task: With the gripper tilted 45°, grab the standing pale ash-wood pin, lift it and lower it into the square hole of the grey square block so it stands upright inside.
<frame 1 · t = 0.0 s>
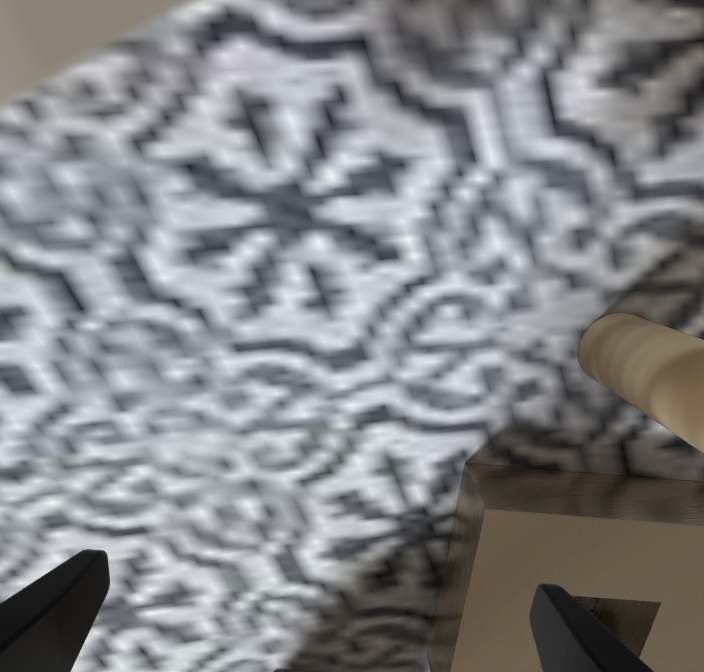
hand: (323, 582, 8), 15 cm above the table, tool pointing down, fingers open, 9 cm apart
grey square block: (563, 576, 27), on the table
ash pin: (614, 348, 22), on the table
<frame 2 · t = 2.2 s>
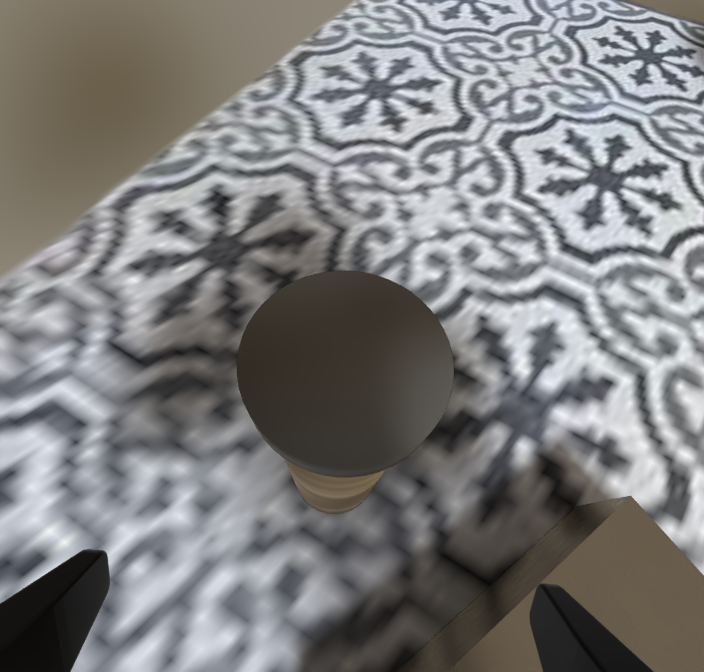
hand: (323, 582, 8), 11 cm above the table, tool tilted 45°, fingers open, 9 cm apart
ash pin: (334, 469, 20), on the table
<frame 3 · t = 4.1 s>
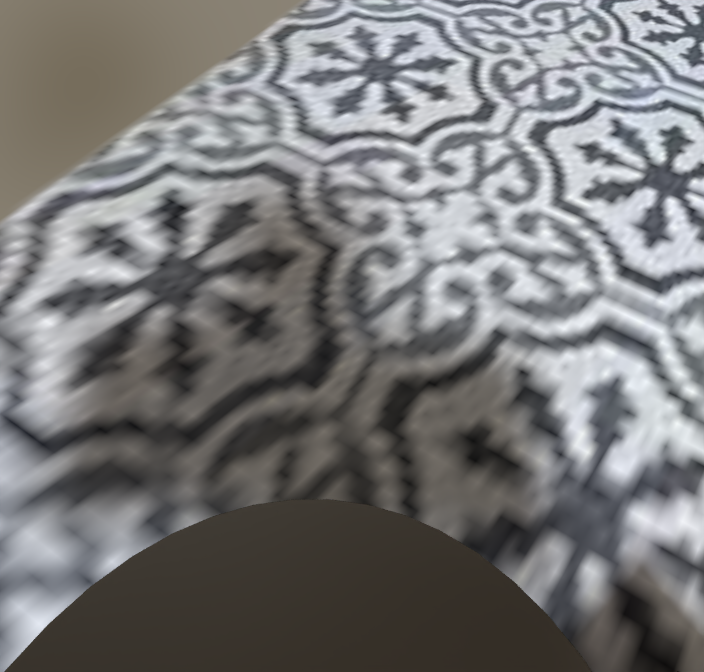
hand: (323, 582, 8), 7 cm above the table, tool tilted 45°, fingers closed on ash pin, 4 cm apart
ash pin: (319, 617, 14), on the table, touching gripper
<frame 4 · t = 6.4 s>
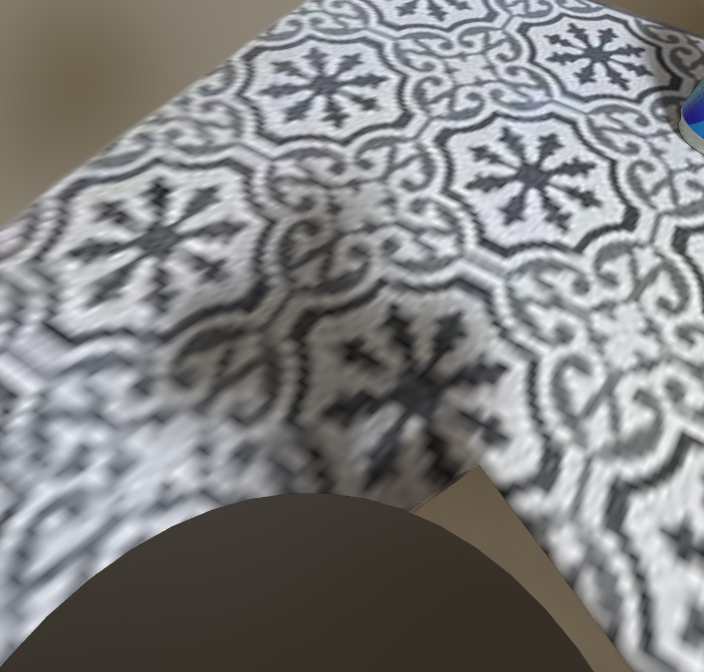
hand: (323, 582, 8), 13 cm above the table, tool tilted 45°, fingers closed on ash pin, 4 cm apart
ash pin: (319, 616, 14), point 6 cm above the table, touching gripper
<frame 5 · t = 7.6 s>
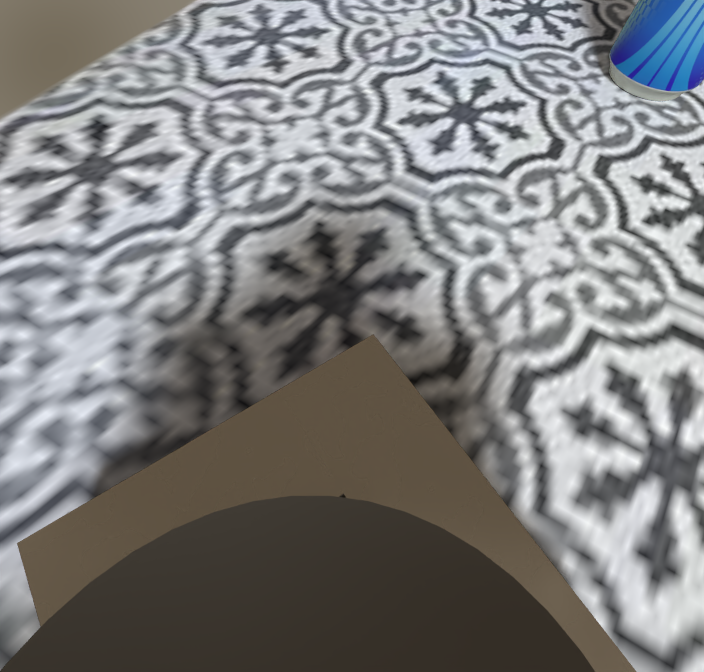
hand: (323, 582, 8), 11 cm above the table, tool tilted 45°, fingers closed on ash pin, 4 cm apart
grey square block: (322, 598, 18), on the table
ash pin: (319, 617, 13), point 5 cm above the table, touching gripper
beer can: (643, 81, 39), on the table
when the fingers open (8 cm above the table, at t = 8.6 s): ash pin drops 1 cm, resting in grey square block.
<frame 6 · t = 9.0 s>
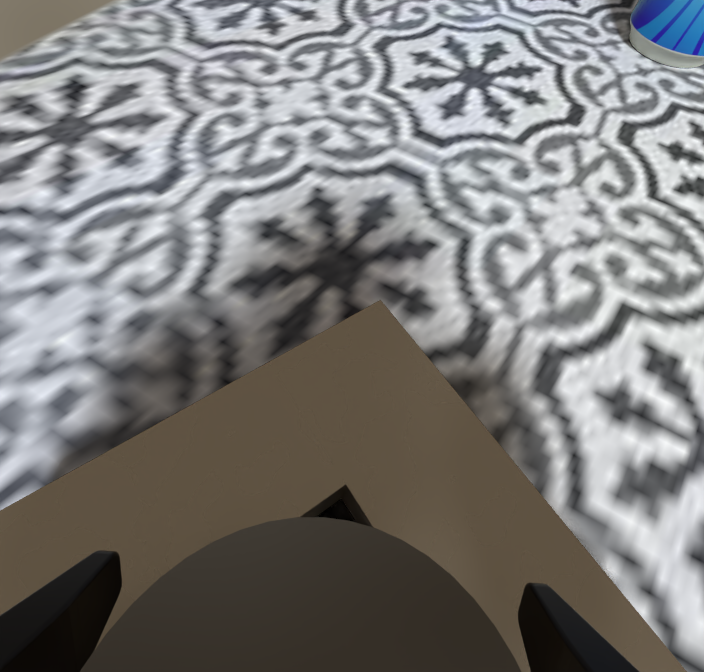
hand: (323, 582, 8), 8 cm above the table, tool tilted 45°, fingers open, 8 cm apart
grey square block: (320, 611, 15), on the table
ash pin: (319, 613, 15), resting in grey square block
beer can: (666, 49, 36), on the table
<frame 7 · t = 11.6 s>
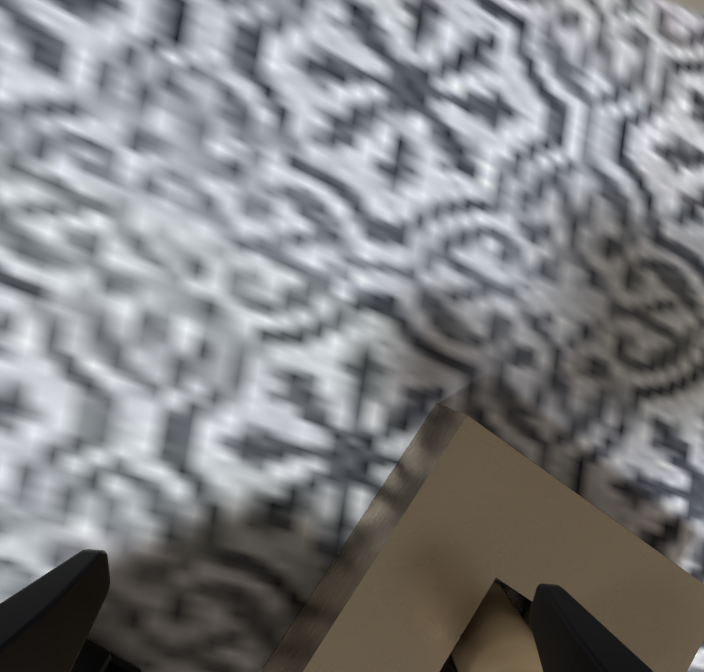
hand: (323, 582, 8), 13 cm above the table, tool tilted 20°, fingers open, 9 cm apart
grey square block: (472, 608, 22), on the table
ash pin: (473, 611, 22), resting in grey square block, tilted 7°
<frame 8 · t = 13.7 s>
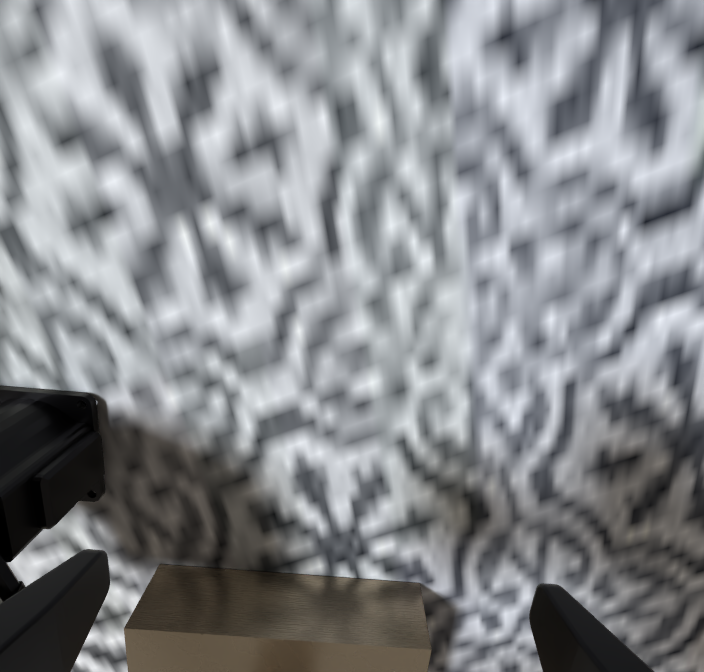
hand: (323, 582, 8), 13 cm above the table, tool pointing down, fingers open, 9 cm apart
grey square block: (285, 667, 27), on the table
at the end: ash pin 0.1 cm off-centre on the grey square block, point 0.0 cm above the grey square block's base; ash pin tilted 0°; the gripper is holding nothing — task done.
